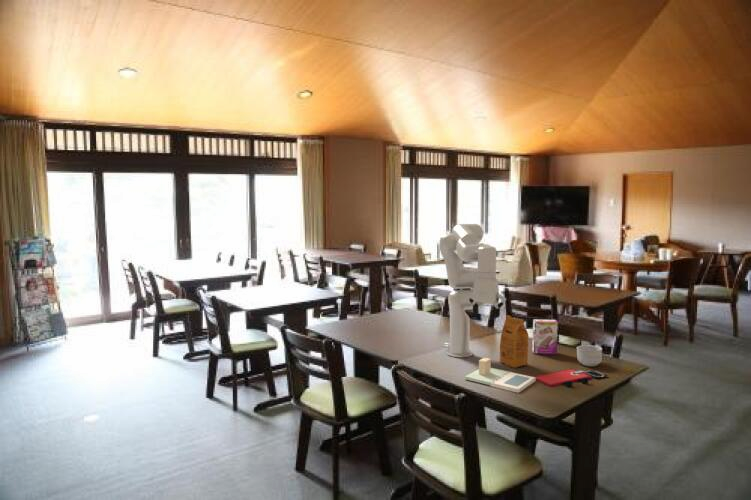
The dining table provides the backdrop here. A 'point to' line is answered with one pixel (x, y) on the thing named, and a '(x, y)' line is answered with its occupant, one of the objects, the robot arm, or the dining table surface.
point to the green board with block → (485, 372)
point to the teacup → (589, 355)
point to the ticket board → (513, 382)
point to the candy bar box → (545, 336)
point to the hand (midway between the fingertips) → (486, 315)
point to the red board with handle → (567, 377)
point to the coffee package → (514, 343)
